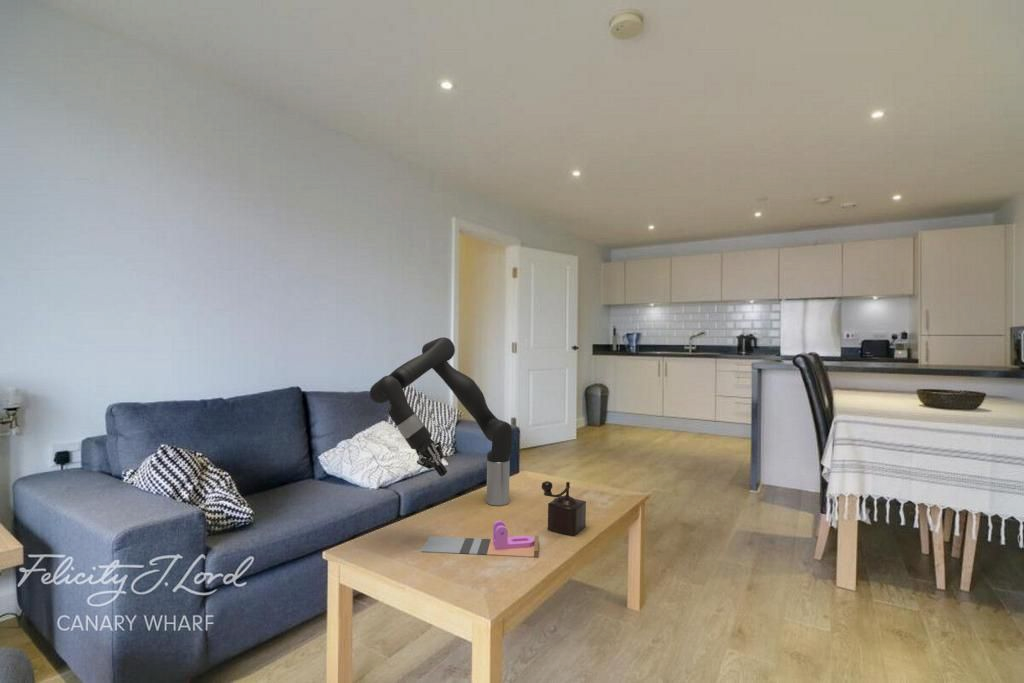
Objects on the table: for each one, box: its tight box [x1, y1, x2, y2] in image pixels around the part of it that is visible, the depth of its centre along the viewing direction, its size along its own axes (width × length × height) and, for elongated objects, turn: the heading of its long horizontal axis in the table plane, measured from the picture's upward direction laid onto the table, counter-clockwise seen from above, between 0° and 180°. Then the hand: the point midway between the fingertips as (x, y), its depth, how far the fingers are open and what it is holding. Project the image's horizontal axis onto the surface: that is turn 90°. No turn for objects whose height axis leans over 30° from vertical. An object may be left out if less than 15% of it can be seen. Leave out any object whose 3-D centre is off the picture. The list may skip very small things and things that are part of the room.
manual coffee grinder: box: [541, 480, 587, 537], centre depth 165 cm, size 16×11×18 cm
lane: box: [420, 535, 540, 558], centre depth 152 cm, size 11×36×2 cm, turn 86°
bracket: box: [492, 519, 535, 550], centre depth 153 cm, size 13×6×7 cm, turn 101°
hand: (444, 474), depth 155 cm, fingers closed
